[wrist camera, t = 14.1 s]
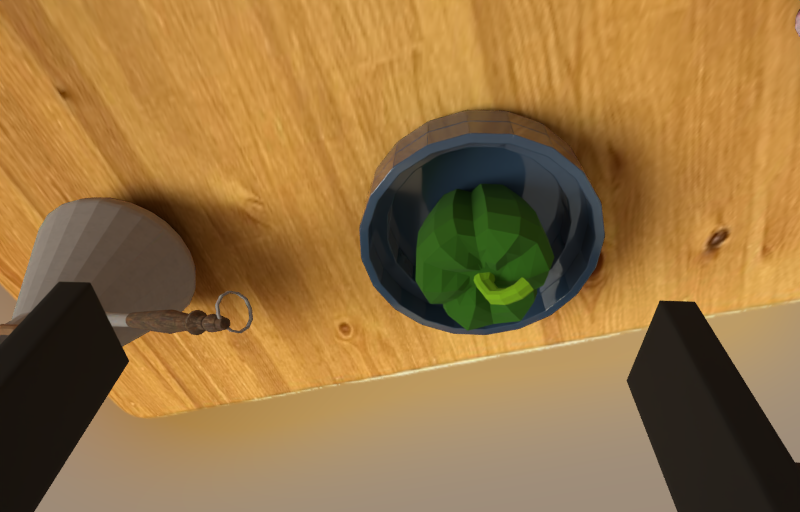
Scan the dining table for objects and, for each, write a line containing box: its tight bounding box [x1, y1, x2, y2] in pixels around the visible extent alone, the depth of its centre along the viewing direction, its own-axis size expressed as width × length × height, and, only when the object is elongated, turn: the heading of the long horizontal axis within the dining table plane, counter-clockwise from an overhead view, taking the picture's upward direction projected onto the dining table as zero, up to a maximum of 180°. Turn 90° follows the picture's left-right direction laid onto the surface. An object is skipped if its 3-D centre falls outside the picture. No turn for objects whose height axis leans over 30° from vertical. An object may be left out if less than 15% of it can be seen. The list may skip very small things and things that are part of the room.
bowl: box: [359, 110, 605, 335], centre depth 34 cm, size 16×16×4 cm
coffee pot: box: [0, 198, 253, 346], centre depth 32 cm, size 21×12×15 cm, turn 114°
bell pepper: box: [416, 184, 554, 331], centre depth 32 cm, size 8×8×10 cm
